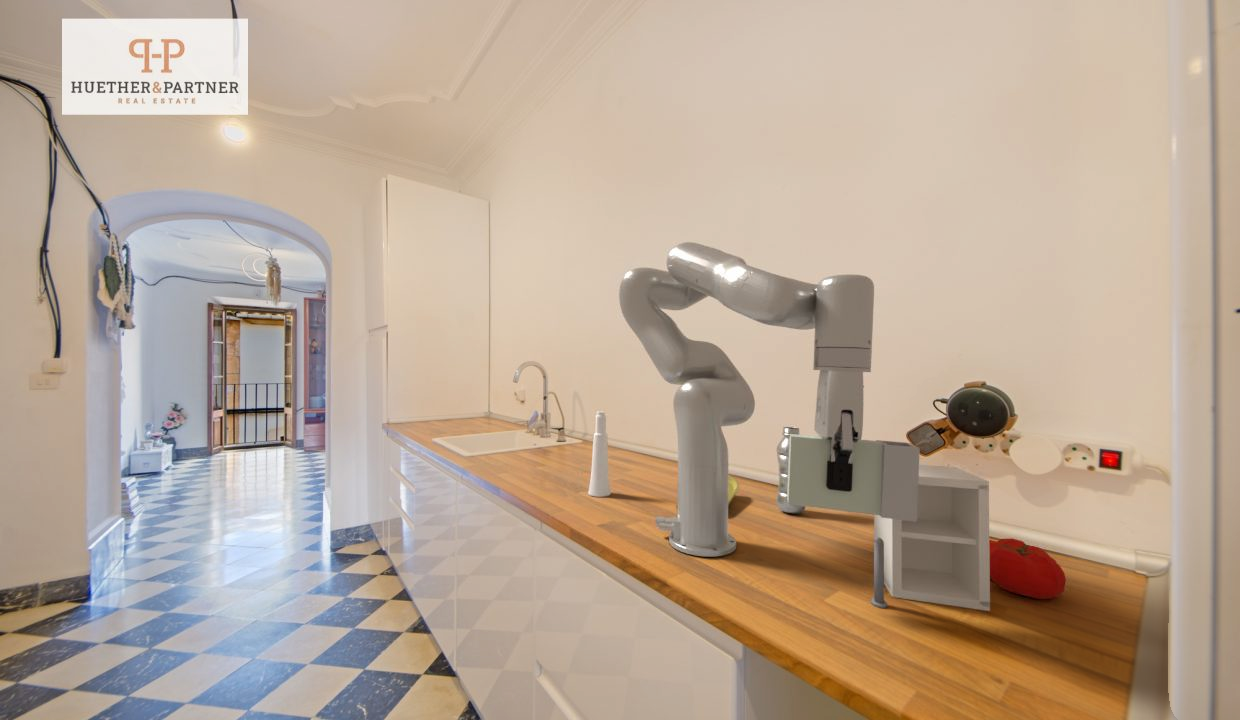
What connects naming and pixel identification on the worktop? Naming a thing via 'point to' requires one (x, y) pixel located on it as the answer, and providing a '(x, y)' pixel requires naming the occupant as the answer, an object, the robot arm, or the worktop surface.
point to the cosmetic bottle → (600, 460)
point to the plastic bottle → (785, 472)
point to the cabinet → (937, 543)
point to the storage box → (856, 477)
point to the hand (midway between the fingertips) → (836, 485)
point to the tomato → (1025, 569)
